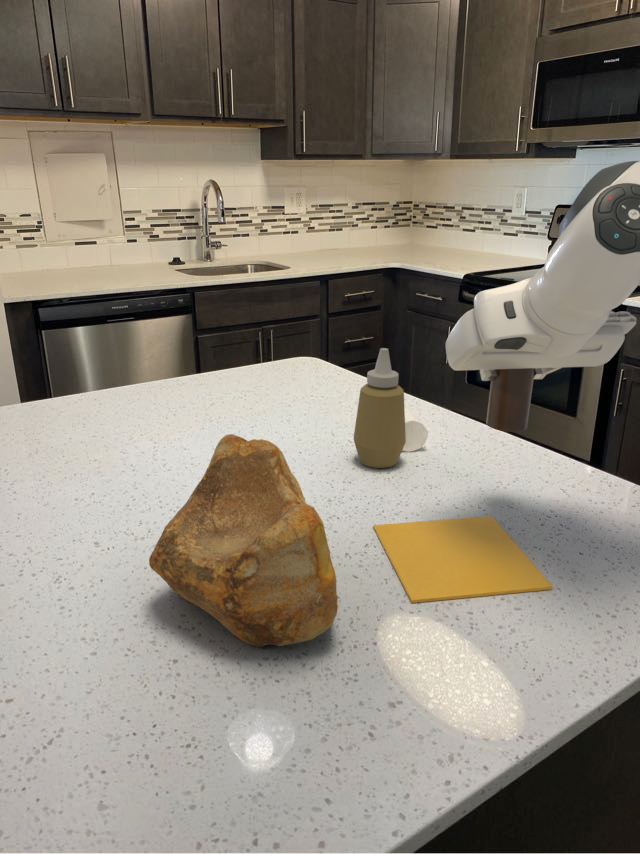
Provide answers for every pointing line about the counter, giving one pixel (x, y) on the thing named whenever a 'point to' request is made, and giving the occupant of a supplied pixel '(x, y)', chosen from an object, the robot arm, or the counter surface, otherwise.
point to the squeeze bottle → (380, 416)
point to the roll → (414, 431)
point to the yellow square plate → (457, 559)
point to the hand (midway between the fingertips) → (510, 375)
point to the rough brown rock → (251, 548)
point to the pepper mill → (510, 399)
